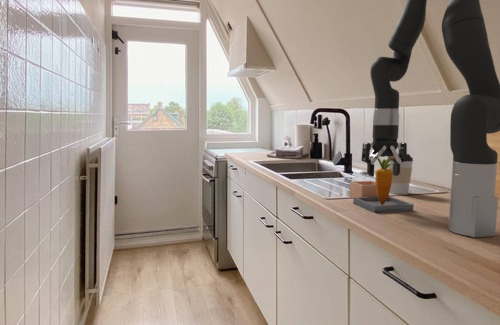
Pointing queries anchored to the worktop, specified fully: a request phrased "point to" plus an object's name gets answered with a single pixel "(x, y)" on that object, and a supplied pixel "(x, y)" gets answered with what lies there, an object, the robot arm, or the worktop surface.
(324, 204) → the worktop surface
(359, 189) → the terracotta open box
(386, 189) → the carrot
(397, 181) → the coffee cup
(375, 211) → the charcoal tray
